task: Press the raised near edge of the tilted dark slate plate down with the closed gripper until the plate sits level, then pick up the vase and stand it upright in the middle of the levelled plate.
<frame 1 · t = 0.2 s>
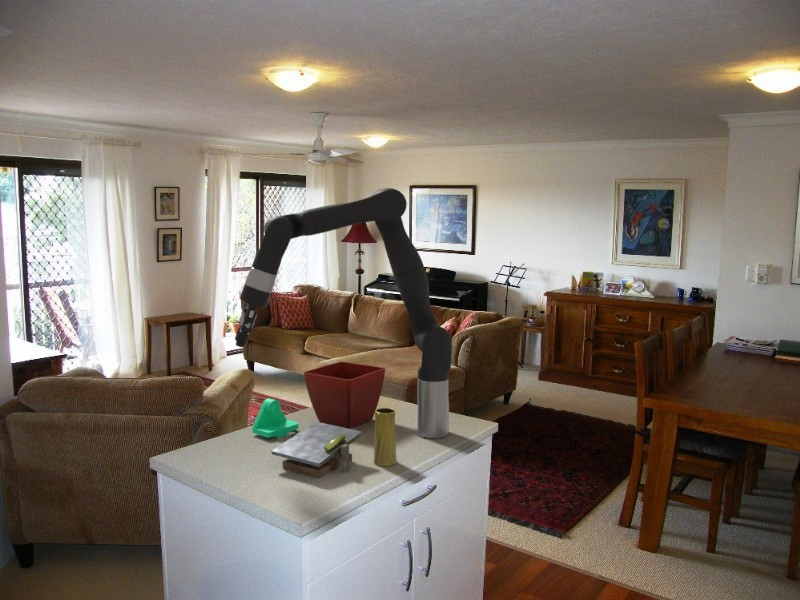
hand: (238, 343, 178), 31 cm above the table, tool tilted 20°, fingers open, 8 cm apart
tilt plate: (317, 440, 173), point 7 cm above the table, hinge at 10.0°
camera mount: (276, 434, 200), on the table
plant pot: (345, 421, 212), on the table
vase: (385, 463, 176), on the table
levelling stand: (317, 464, 174), on the table
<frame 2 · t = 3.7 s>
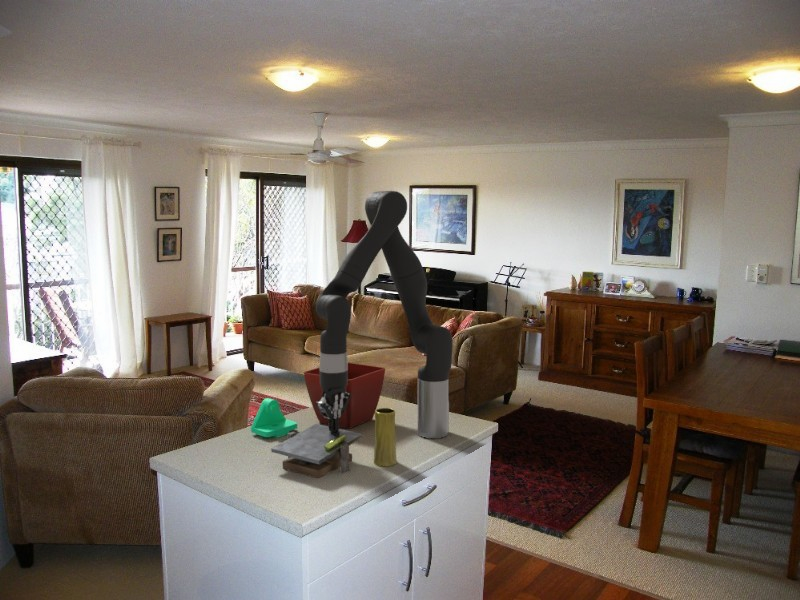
hand: (334, 431, 179), 7 cm above the table, tool pointing down, fingers closed
tilt plate: (317, 439, 173), point 7 cm above the table, hinge at 5.5°, touching gripper
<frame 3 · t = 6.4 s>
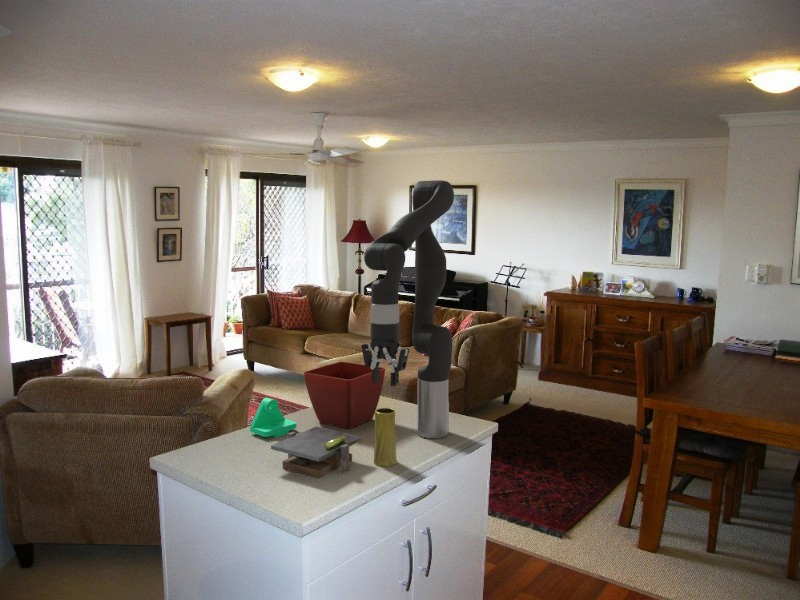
hand: (385, 384, 173), 21 cm above the table, tool pointing down, fingers open, 5 cm apart
tilt plate: (317, 439, 173), point 7 cm above the table, hinge at 0.7°
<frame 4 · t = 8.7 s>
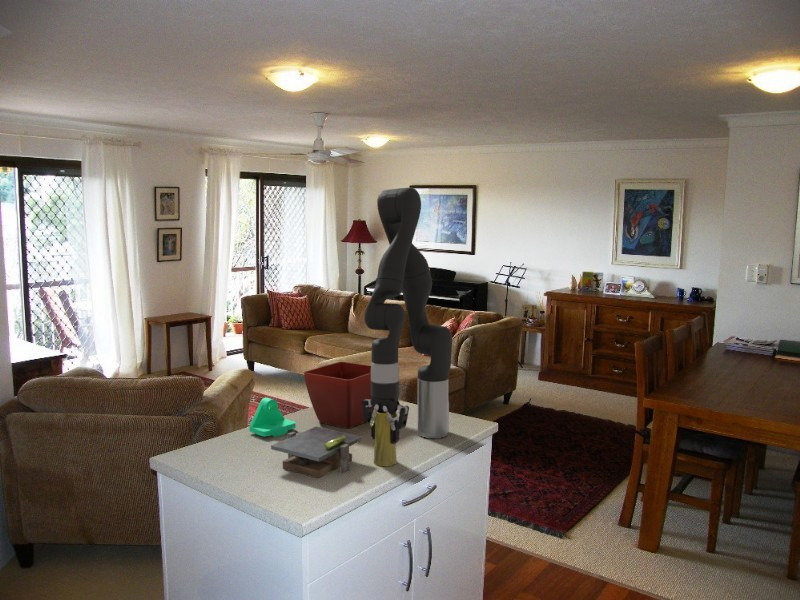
hand: (385, 440, 175), 6 cm above the table, tool pointing down, fingers closed on vase, 5 cm apart
vase: (385, 463, 176), on the table, touching gripper
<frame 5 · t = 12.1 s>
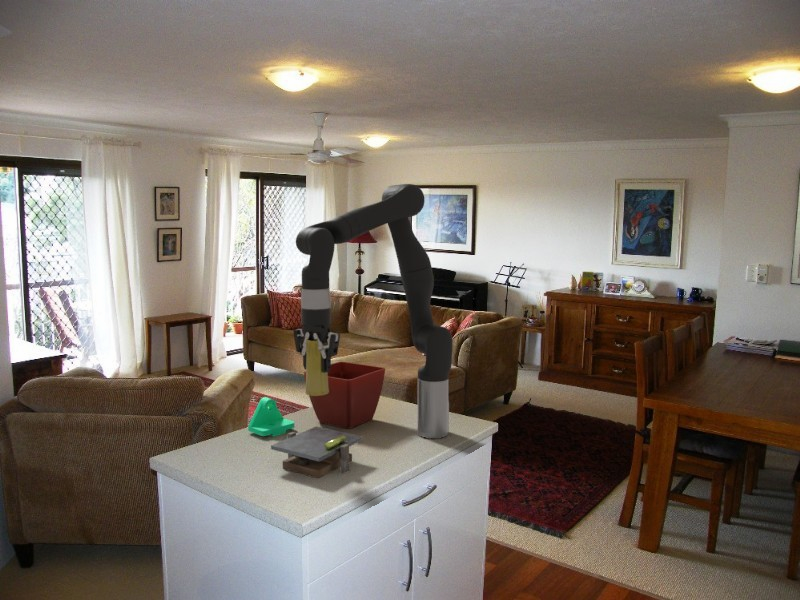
hand: (316, 370, 171), 25 cm above the table, tool pointing down, fingers closed on vase, 5 cm apart
vase: (317, 393, 172), point 19 cm above the table, touching gripper
when the fingers open (13 cm above the table, at t = 15.4 s): vase stays where it is, resting on tilt plate.
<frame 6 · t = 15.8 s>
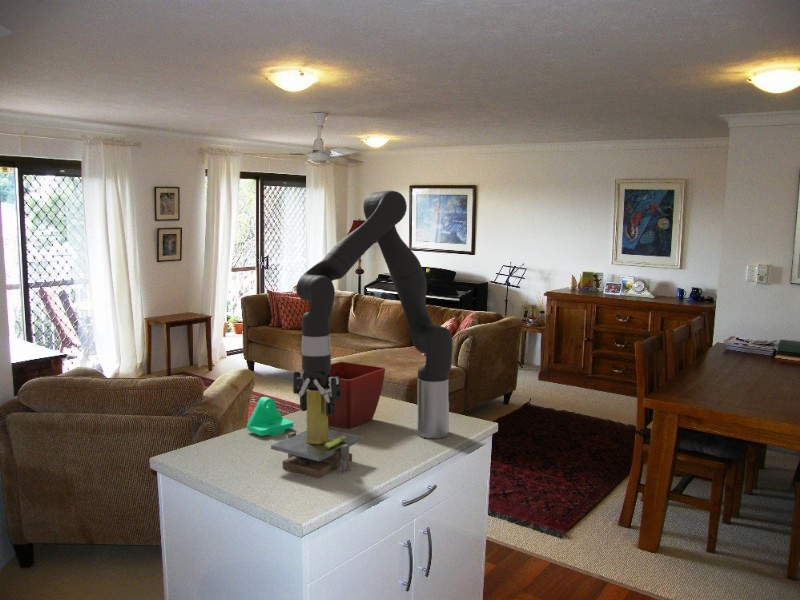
hand: (317, 412, 173), 14 cm above the table, tool pointing down, fingers open, 8 cm apart
tilt plate: (317, 439, 173), point 7 cm above the table, hinge at 0.3°, touching vase
vase: (317, 441, 174), point 6 cm above the table, touching tilt plate
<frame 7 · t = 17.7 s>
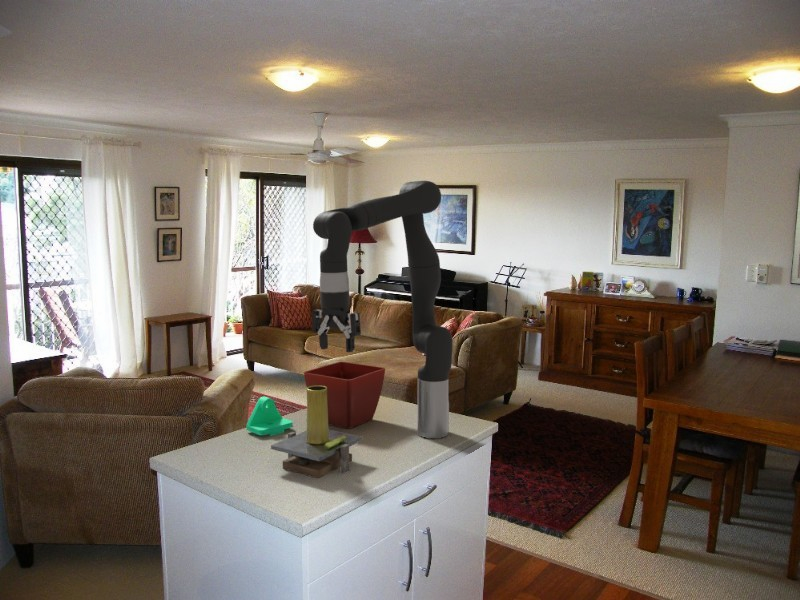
hand: (336, 350, 174), 30 cm above the table, tool pointing down, fingers open, 8 cm apart
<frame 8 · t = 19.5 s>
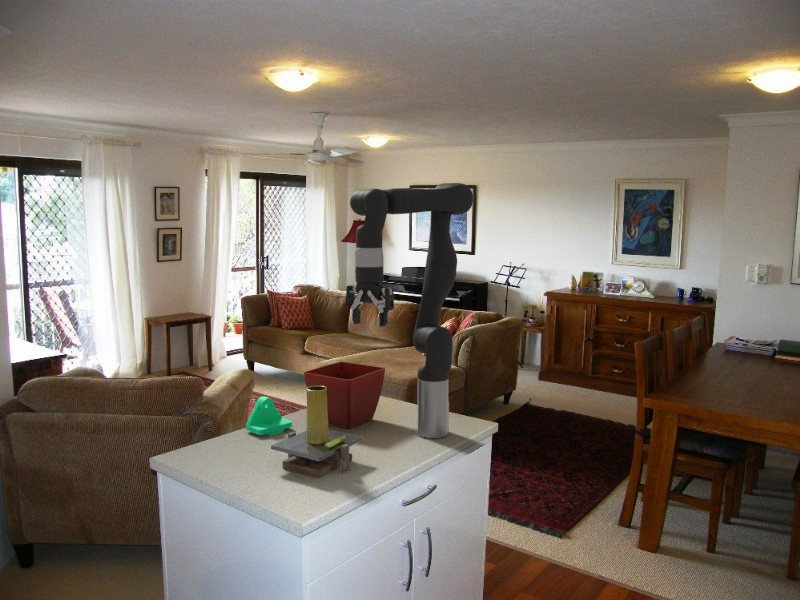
hand: (369, 324, 178), 36 cm above the table, tool pointing down, fingers open, 8 cm apart
at the end: tilt plate at +0° (first picture: +10°); vase inside the target area on the tilt plate (0.1 cm from its centre), point 0.3 cm above the tilt plate's base; vase tilted 0° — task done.
